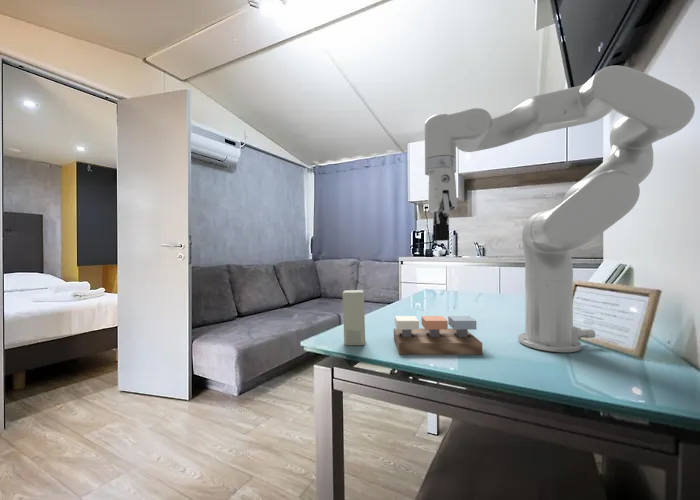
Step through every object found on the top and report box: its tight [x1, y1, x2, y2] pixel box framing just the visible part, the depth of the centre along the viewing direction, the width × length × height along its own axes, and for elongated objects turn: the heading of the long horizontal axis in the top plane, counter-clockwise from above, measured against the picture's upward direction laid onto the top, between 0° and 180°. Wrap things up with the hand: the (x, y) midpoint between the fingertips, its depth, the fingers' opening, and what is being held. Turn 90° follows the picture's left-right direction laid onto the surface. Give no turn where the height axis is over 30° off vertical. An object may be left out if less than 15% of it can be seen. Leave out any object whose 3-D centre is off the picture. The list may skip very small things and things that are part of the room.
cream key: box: [394, 315, 420, 337], centre depth 75 cm, size 5×5×4 cm
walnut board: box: [393, 328, 483, 355], centre depth 75 cm, size 18×12×2 cm, turn 88°
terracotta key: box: [420, 315, 449, 337], centre depth 75 cm, size 5×5×4 cm
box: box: [342, 289, 366, 346], centre depth 77 cm, size 5×4×13 cm
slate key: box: [447, 315, 477, 337], centre depth 74 cm, size 5×5×4 cm
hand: (440, 239), depth 79 cm, fingers closed
